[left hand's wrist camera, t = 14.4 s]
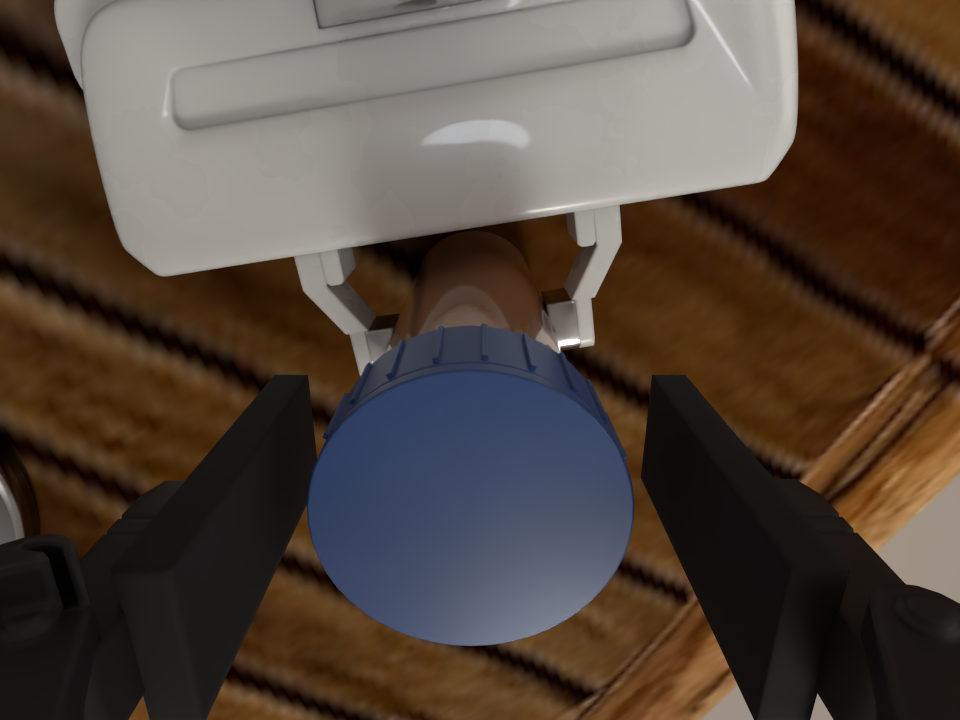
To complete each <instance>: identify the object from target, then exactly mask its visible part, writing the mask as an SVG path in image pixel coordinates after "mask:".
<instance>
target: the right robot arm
mask: <svg viewBox="0 0 960 720" xmlns="http://www.w3.org/2000/svg"><path fill="white" fill-rule="evenodd" d="M54 13H55V20H56V25H57V28H58V31H59V34H60V37H61V39H62V42H63V45H64V48H65V51H66V53H67V56H68V59H69V62H70V65H71V67H72V70H73V73H74V75H75V77H76V80H77V81H78V83H79V85H80V86H81V88H82V89H83V92H84V99H85V104H86V109H87V115H88V120H89V126H90V131H91V136H92V141H93V145H94V150H95V154H96V158H97V162H98V167H99V171H100V175H101V179H102V183H103V186H104V190H105V194H106V198H107V201H108V205H109V208H110V212H111V215H112V218H113V222H114V225H115V228H116V231H117V233H118V236H119V239H120V241H121V243H122V245H123V247H124V248H125V250H126V251H127V252H128V253H130V254H131V255H132V256H133V257H134V258H136V259H137V260H138V261H139V262H141V263H142V264H143V265H144V266H145V267H147V268H148V269H150V270H151V271H152V272H154V273H155V274H157V275H159V276H172V275H179V274H185V273H192V272H198V271H204V270H211V269H217V268H223V267H230V266H236V265H242V264H249V263H255V262H261V261H268V260H274V259H280V258H287V257H293V256H294V258H295V262H296V266H297V270H298V273H299V277H300V281H301V285H302V288H303V291H304V292H305V293H306V294H307V295H308V296H309V297H310V298H311V299H312V300H313V301H314V302H315V304H316V305H317V306H318V307H319V308H320V309H321V310H322V311H323V312H324V313H325V314H326V315H327V316H328V317H329V318H330V319H331V320H332V321H333V322H334V323H335V324H336V325H337V326H338V327H339V328H340V329H341V330H342V331H343V332H344V333H345V334H350V338H351V342H352V346H353V350H354V354H355V358H356V362H357V366H358V370H359V374H360V376H361V375H362V373H363V370H364V368H365V366H366V365H367V364H368V363H369V362H370V363H371V364H373V363H374V362H375V361H376V360H377V359H378V358H379V357H381V356H382V355H383V352H384V350H385V348H386V345H387V343H388V340H389V338H390V336H391V333H392V331H393V329H394V326H395V324H396V322H397V319H398V317H399V314H392V315H384V316H377V315H376V314H375V313H374V312H373V310H372V309H371V308H370V307H369V306H368V304H367V303H366V302H365V301H364V300H363V299H362V297H361V296H360V295H359V294H358V293H357V292H356V290H355V289H354V288H353V287H352V286H351V285H350V283H349V282H348V281H347V280H346V279H347V278H348V276H349V275H350V274H351V273H352V272H353V271H354V269H355V268H356V262H355V258H354V253H353V249H352V247H356V246H362V245H369V244H375V243H381V242H388V241H394V240H400V239H407V238H413V237H419V236H426V235H432V234H438V233H444V232H451V231H457V230H463V229H470V228H476V227H482V226H489V225H495V224H501V223H508V222H514V221H520V220H527V219H533V218H539V217H546V216H552V215H558V214H565V213H566V220H567V228H568V234H569V235H570V236H571V237H572V238H573V240H574V241H575V242H576V243H577V244H578V245H580V246H581V247H580V249H579V252H578V254H577V256H576V259H575V261H574V264H573V266H572V268H571V271H570V273H569V275H568V278H567V280H566V282H565V285H564V288H561V289H555V290H549V291H544V292H541V293H542V301H543V305H544V308H545V310H546V313H547V315H548V318H549V321H550V323H551V326H552V328H553V331H554V333H555V336H556V338H557V341H558V344H559V346H560V349H561V350H567V349H574V348H581V347H588V346H594V340H595V336H594V325H593V315H592V304H591V298H592V297H595V296H596V294H597V292H598V290H599V287H600V285H601V283H602V281H603V279H604V277H605V275H606V273H607V271H608V269H609V267H610V265H611V263H612V261H613V259H614V257H615V255H616V253H617V251H618V249H619V247H620V245H621V243H622V236H621V221H620V205H621V204H628V203H634V202H640V201H647V200H653V199H659V198H666V197H672V196H678V195H685V194H691V193H697V192H704V191H710V190H716V189H723V188H729V187H735V186H741V185H747V184H754V183H760V182H762V181H764V180H766V179H767V178H768V177H769V176H770V175H771V174H772V173H773V171H774V170H775V169H776V167H777V166H778V164H779V163H780V161H781V160H782V158H783V157H784V155H785V154H786V152H787V151H788V149H789V148H790V146H791V145H792V143H793V140H794V137H795V132H796V126H797V113H798V51H797V30H796V14H795V2H794V0H55V1H54Z"/></svg>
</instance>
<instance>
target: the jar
mask: <svg viewBox="0 0 960 720" xmlns="http://www.w3.org/2000/svg"><path fill="white" fill-rule="evenodd" d="M481 324H487V327H494V328H500V329H505V330H509V331H513V332H516V333H519V334H522V335H523V333H524V332H525V333H528V334H529V337H530V338H532V339H534V340H536V341H539V342H541V343H543V344H544V345H546V346H548V347H549V348H551V349H552V350H554V351H556V352H557V353H560V352H562V351H561V349H560V346H559V344H558V341H557V338H556V336H555V333H554V331H553V328H552V326H551V323H550V321H549V318H548V315H547V313H546V310H545V308H544V305H543V303H542V300H541V297H540V295H539V292H538V290H537V287H536V285H535V282H534V279H533V277H532V274H531V272H530V269H529V267H528V265H527V263H526V260H525V259H524V257H523V256H522V254H521V253H520V252H519V251H518V249H517V248H516V247H515V246H513V245H512V244H511V243H510V242H508V241H507V240H505V239H504V238H502V237H500V236H498V235H496V234H493V233H490V232H485V231H475V230H472V231H463V232H459V233H455V234H453V235H450V236H448V237H446V238H444V239H443V240H441V241H440V242H438V243H437V244H436V245H435V246H434V247H433V248H431V250H430V251H429V252H428V253H427V254H426V256H425V258H424V259H423V261H422V263H421V265H420V267H419V270H418V272H417V274H416V277H415V279H414V281H413V284H412V286H411V289H410V291H409V293H408V296H407V298H406V300H405V303H404V305H403V307H402V310H401V312H400V314H399V317H398V319H397V322H396V324H395V326H394V329H393V331H392V333H391V336H390V338H389V340H388V343H387V345H386V348H385V350H384V352H383V354H385V353H386V352H388V351H389V350H391V349H392V348H394V347H395V346H397V344H398V341H400V340H402V339H403V340H404V341H407V340H409V339H411V338H413V337H415V336H418V335H421V334H424V333H427V332H430V331H433V330H438V327H439V326H444V328H448V327H458V326H481Z"/></svg>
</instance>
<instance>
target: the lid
mask: <svg viewBox="0 0 960 720" xmlns="http://www.w3.org/2000/svg"><path fill="white" fill-rule="evenodd" d="M323 438H325V439H327V440H326V442H325V444H324V446H323V448H322V450H321V452H320V455H319V457H318V459H317V461H316V463H315V465H314V467H313V469H312V471H311V480H310V484H309V490H308V499H307V513H308V525H309V529H310V534H311V539H312V542H313V545H314V548H315V550H316V553H317V556H318V558H319V560H320V562H321V564H322V565H323V567H324V569H325V571H326V573H327V574H328V576H329V577H330V578H331V580H332V581H333V582H334V584H335V585H336V586H337V588H338V589H339V590H340V591H341V592H342V593H343V594H344V595H345V596H346V597H347V598H348V599H349V600H350V601H351V602H352V603H353V604H354V605H356V606H357V607H358V608H359V609H361V610H362V611H363V612H364V613H366V614H367V615H369V616H370V617H372V618H374V619H375V620H377V621H378V622H380V623H382V624H384V625H386V626H388V627H390V628H392V629H394V630H396V631H398V632H401V633H404V634H407V635H409V636H412V637H415V638H418V639H423V640H427V641H431V642H435V643H442V644H449V645H463V646H479V645H494V644H500V643H506V642H512V641H515V640H519V639H523V638H526V637H530V636H533V635H535V634H538V633H540V632H543V631H546V630H548V629H550V628H552V627H554V626H556V625H558V624H560V623H562V622H564V621H565V620H567V619H568V618H570V617H571V616H573V615H574V614H576V613H577V612H579V611H580V610H581V609H582V608H584V607H585V606H586V605H587V604H588V603H589V602H591V601H592V600H593V599H594V598H595V597H596V596H597V595H598V594H599V593H600V591H601V590H602V589H603V588H604V587H605V586H606V585H607V583H608V582H609V580H610V579H611V578H612V576H613V575H614V573H615V572H616V570H617V568H618V566H619V564H620V562H621V560H622V558H623V556H624V555H625V552H626V549H627V546H628V543H629V540H630V537H631V531H632V526H633V520H634V496H633V489H632V482H631V479H630V475H629V472H628V469H627V466H626V463H625V460H628V459H627V456H626V453H625V451H624V449H623V447H622V445H621V443H620V440H619V438H618V436H617V434H616V432H615V430H614V428H613V425H612V423H611V421H610V419H609V417H608V415H607V413H606V412H605V411H604V409H603V406H602V404H601V402H600V400H599V398H598V396H597V393H596V391H595V389H594V387H593V385H592V383H591V381H590V380H589V379H588V380H587V381H585V379H584V378H583V376H582V375H581V374H580V373H579V372H578V371H577V370H576V369H575V368H574V367H573V365H572V364H570V363H569V362H568V361H567V359H566V357H565V354H564V353H562V352H560V353H557V352H556V351H554V350H552V349H551V348H549V347H548V346H546V345H544V344H543V343H541V342H539V341H536V340H534V339H532V338H530V337H529V334H528V333H525V332H524V333H523V335H522V334H519V333H516V332H513V331H509V330H505V329H500V328H494V327H487V324H481V326H458V327H448V328H444V326H439V327H438V330H433V331H430V332H427V333H424V334H421V335H418V336H415V337H413V338H411V339H409V340H407V341H404V340H403V339H402V340H400V341H398V344H397V346H395V347H394V348H392V349H391V350H389V351H388V352H386V353H385V354H383V355H382V356H381V357H379V358H378V359H377V360H376V361H375V362H374V363H373V364H371V363H370V362H369V363H368V364H367V365H366V366H365V368H364V370H363V373H362V375H361V377H360V378H359V379H358V380H357V382H356V384H355V385H354V387H353V388H352V390H351V391H350V393H349V394H348V393H345V394H344V396H343V398H342V400H341V402H340V404H339V406H338V408H337V410H336V412H335V414H334V416H333V418H332V420H331V422H330V424H329V426H328V427H327V429H326V431H325V433H324V435H323Z"/></svg>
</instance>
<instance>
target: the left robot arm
mask: <svg viewBox="0 0 960 720" xmlns="http://www.w3.org/2000/svg"><path fill="white" fill-rule="evenodd" d="M316 461H317V454H316V445H315V436H314V427H313V418H312V409H311V400H310V390H309V381H308V375H274V377H273V378H272V379H271V380H270V381H269V382H268V384H267V385H266V386H265V387H264V388H263V390H262V391H261V392H260V393H259V394H258V395H257V397H256V398H255V399H254V400H253V401H252V402H251V404H250V405H249V406H248V407H247V408H246V410H245V411H244V412H243V413H242V414H241V415H240V417H239V418H238V419H237V420H236V421H235V423H234V424H233V425H232V426H231V427H230V428H229V430H228V431H227V432H226V433H225V434H224V435H223V437H222V438H221V439H220V440H219V441H218V443H217V444H216V445H215V446H214V447H213V448H212V450H211V451H210V452H209V453H208V454H207V455H206V457H205V458H204V459H203V460H202V461H201V463H200V464H199V465H198V466H197V467H196V468H195V470H194V471H193V472H192V473H191V474H190V475H189V477H188V478H187V479H186V480H185V481H164V482H163V483H161V484H160V485H158V486H156V487H155V488H153V489H151V490H150V491H148V492H146V493H145V494H143V495H141V496H140V497H139V498H138V499H137V500H136V501H135V502H134V503H133V504H132V505H131V506H130V507H129V508H128V509H127V510H126V512H125V513H124V514H123V515H122V519H118V520H117V521H116V522H115V523H114V524H113V525H112V526H111V528H110V529H109V530H108V531H107V535H103V536H102V537H101V538H100V539H99V540H98V541H97V542H96V544H95V545H94V546H93V547H92V548H91V549H90V550H89V551H88V552H87V553H86V554H85V555H84V556H83V557H82V558H81V560H79V556H78V553H77V549H76V546H75V543H74V542H72V541H71V540H70V539H68V538H67V537H65V536H58V535H51V534H46V535H40V522H39V515H38V510H37V506H36V502H35V499H34V496H33V493H32V491H31V488H30V486H29V484H28V482H27V480H26V478H25V476H24V474H23V472H22V470H21V469H20V467H19V465H18V464H17V462H16V461H15V459H14V458H13V456H12V455H11V454H10V452H9V451H8V450H7V448H6V447H5V446H4V445H3V444H2V443H1V441H0V720H128V719H129V718H130V716H131V714H132V713H133V711H134V709H135V708H136V706H137V704H138V703H139V701H140V699H141V698H142V696H144V700H145V703H146V707H147V711H148V715H149V718H150V720H206V719H207V716H208V714H209V712H210V710H211V708H212V706H213V704H214V701H215V699H216V697H217V695H218V693H219V691H220V689H221V686H222V684H223V682H224V680H225V678H226V676H227V674H228V671H229V669H230V667H231V665H232V663H233V661H234V659H235V656H236V654H237V652H238V650H239V648H240V646H241V644H242V642H243V639H244V637H245V635H246V633H247V631H248V629H249V627H250V624H251V622H252V620H253V618H254V616H255V614H256V612H257V609H258V607H259V605H260V603H261V601H262V599H263V597H264V594H265V592H266V590H267V588H268V586H269V584H270V582H271V579H272V577H273V575H274V573H275V571H276V569H277V567H278V565H279V562H280V560H281V558H282V556H283V554H284V552H285V550H286V547H287V545H288V543H289V541H290V539H291V537H292V535H293V532H294V530H295V528H296V526H297V524H298V522H299V520H300V517H301V515H302V513H303V511H304V509H305V507H306V505H307V499H308V490H309V484H310V480H311V471H312V469H313V467H314V465H315V463H316ZM641 479H642V481H643V483H644V485H645V488H646V490H647V492H648V494H649V496H650V498H651V500H652V502H653V505H654V507H655V509H656V511H657V513H658V515H659V517H660V520H661V522H662V524H663V526H664V528H665V530H666V532H667V535H668V537H669V539H670V541H671V543H672V545H673V547H674V550H675V552H676V554H677V556H678V558H679V560H680V562H681V565H682V567H683V569H684V571H685V573H686V575H687V577H688V579H689V582H690V584H691V586H692V588H693V590H694V592H695V594H696V597H697V599H698V601H699V603H700V605H701V607H702V609H703V612H704V614H705V616H706V618H707V620H708V622H709V624H710V627H711V629H712V631H713V633H714V635H715V637H716V639H717V642H718V644H719V646H720V648H721V650H722V652H723V654H724V656H725V659H726V661H727V663H728V665H729V667H730V669H731V671H732V674H733V676H734V678H735V680H736V682H737V684H738V686H739V689H740V691H741V693H742V695H743V697H744V699H745V701H746V704H747V706H748V708H749V710H750V712H751V714H752V716H753V719H754V720H810V718H811V714H812V711H813V707H814V703H815V700H816V696H817V693H818V694H819V696H820V698H821V699H822V701H823V703H824V704H825V706H826V708H827V709H828V711H829V713H830V714H831V716H832V718H833V719H834V720H960V604H959V603H957V602H956V601H954V600H952V599H950V598H948V597H946V596H944V595H942V594H940V593H937V592H934V591H931V590H928V589H925V588H922V587H919V586H914V585H906V584H905V583H904V582H903V581H902V580H901V579H900V578H899V577H898V576H897V575H896V574H895V572H894V571H893V570H892V569H891V568H890V567H889V566H888V565H887V564H886V563H885V562H884V561H883V560H882V559H881V558H880V557H879V556H878V554H877V553H876V552H875V551H874V550H873V549H872V548H871V547H870V546H869V545H868V544H867V543H866V542H865V541H864V540H863V539H862V538H861V536H860V535H859V534H858V533H854V532H853V528H852V527H851V526H850V525H849V524H848V523H847V522H846V521H845V520H844V518H843V517H839V513H838V512H837V511H836V510H835V509H834V508H833V507H832V506H831V505H830V504H829V503H828V502H827V500H826V499H825V498H824V497H823V496H822V495H821V494H819V493H817V492H816V491H814V490H812V489H811V488H809V487H807V486H806V485H804V484H802V483H801V482H799V481H797V480H796V479H773V478H772V477H771V475H770V474H769V473H768V472H767V471H766V470H765V468H764V467H763V466H762V465H761V464H760V463H759V461H758V460H757V459H756V458H755V457H754V455H753V454H752V453H751V452H750V451H749V450H748V448H747V447H746V446H745V445H744V444H743V443H742V441H741V440H740V439H739V438H738V437H737V435H736V434H735V433H734V432H733V431H732V430H731V428H730V427H729V426H728V425H727V424H726V423H725V421H724V420H723V419H722V418H721V417H720V415H719V414H718V413H717V412H716V411H715V410H714V408H713V407H712V406H711V405H710V404H709V402H708V401H707V400H706V399H705V398H704V397H703V395H702V394H701V393H700V392H699V391H698V390H697V388H696V387H695V386H694V385H693V384H692V382H691V381H690V380H689V379H688V378H687V377H686V375H652V381H651V390H650V400H649V409H648V418H647V427H646V436H645V445H644V454H643V463H642V472H641Z"/></svg>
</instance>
